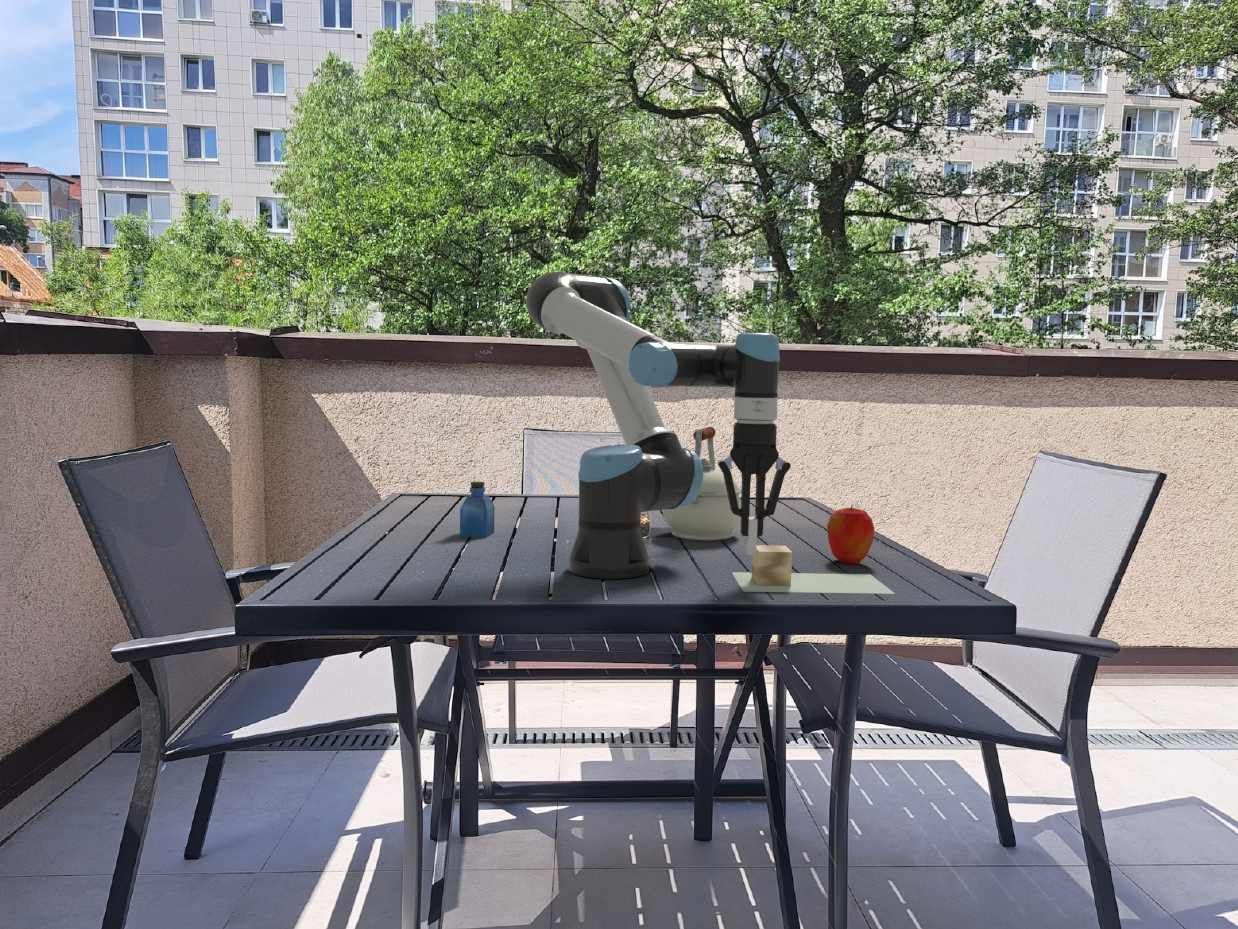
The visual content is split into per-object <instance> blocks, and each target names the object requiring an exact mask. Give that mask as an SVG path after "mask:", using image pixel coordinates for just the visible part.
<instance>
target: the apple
mask: <svg viewBox="0 0 1238 929" xmlns="http://www.w3.org/2000/svg"><path fill="white" fill-rule="evenodd" d="M826 531H827V532H826V533H827V540H828V544H829V547H830V551H831V553H832V555H833V557H834V558H836V559H837V560H838V561H839V563H843V564H849V565H850V564H851V565H852V564H853V565H859V564H860V563H861V562H862V561H863V560H864V559H865V558H866V557H867V556H868V553H869V551H870V549H871V547H872V545H873V543H874V536H875V534H874V533H875V525H874V522H873V518H871V516H870V515H869V513H868V512H867V511H866V510H864V509H859V508H856V507H853V504H852V503H851V507H846V508H841V509H837V510H836V511H835V512H833V513H832V514H831V515H830V517H829V519H828V522H827V524H826Z"/></svg>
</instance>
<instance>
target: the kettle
mask: <svg viewBox="0 0 1238 929" xmlns="http://www.w3.org/2000/svg"><path fill="white" fill-rule="evenodd" d="M716 434H717V433H716V429H715V428H714V427H713V426H707V427H705V428H701V429H697V430H695V431H694V432H693V439H694V441H695V444H694V452H695V453H696V454H697V455H698V457H699V458H700V460H701V463H702V467H703V483H702V484H701V490H700V492H699V494H698V496H697V497H696V499H695V500H694V501H693V502H691V503H690V504H688V505H686V506H683V507H678V508H676V509H664V510H662V515H663V518H664V521H665V523H667V525H668V526H669V527H670V529H672V530H671V534H672V535H673V536H674V537H676V538H679V539H684V540H690V541H702V542H703V541H724V540H729V539H730V538H732V537H733V536H734V533H733V531H734V530H735V529H736V528H737V527H738V526H739V524H741V517H740V516H738V515H735V514H733V513H732V511H731V508H730V504H729V499H728V494H727V490H726V485H725V480H724V476H723V472H722V471H719V470H716V457H715V449H714V448H715V447H714V437H715V435H716ZM706 440H707V442H706V443H707V452H708V459H706V458H701V453H702V442H703V441H706ZM732 479H733V483H734V488H735V493H736V498H737V502H738V507H739V508H740V509H741V496H740V495H741V489H742V488H741V487H740V488H739V486H738V483H737V481H736V480H735V479H734V478H733V477H732Z"/></svg>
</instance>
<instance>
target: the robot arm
mask: <svg viewBox="0 0 1238 929" xmlns="http://www.w3.org/2000/svg"><path fill="white" fill-rule="evenodd" d="M628 293H629V292H627V289H626V288H625V287H624V286H623V285H622V283H621V282H620V281H619V280H616V279H615V278H612V277H607V276H604V275H599V274H598V275H597V274H596V275H587V274H581V273H580V274H579V273H571V272H565V271H550V272H547V273H545V274H542V275H540V276H538V277H537V278H536V279H535V280H534V281H533V282H532V283H531V285H530V286H529V287H528V290H527V294H526V299H525V304H526V305H525V307H526V310H527V313H528V315H529V317H530V319H531V320H532V321H533V322H534V323H535V324H536V325H537V326H539V327H540V328H542V329H544V330H546V331H548V332H550V333H551V334H554V335H561V334H564V335H566V336H567V337H569V338H571V339H572V340H574V341H575V342H576V345H577V346H578V347H580V348H582V349H584V350H587V353H588V355H589V358H590V361H591V363H592V365H593V367H594V370H595V372H596V375H597V378H598V379H599V382H600V385H601V387H602V390H603V392H604V395H605V397H606V399H607V401H608V404H609V407H610V409H611V412H612V414H613V418H614V419H615V421H616V424H617V426H618V429H619V431H620V434H621V437H622V438H623V441H624V443H625V444H614V445H603V446H597V447H594V448H590V449H587V450H585V451H584V452H583V453H582V454H581V457H580V459H579V470H578V474H577V476H578V492H579V493H578V494H579V495H578V530H577V533H576V536H575V539H574V543H573V545H572V548H571V552H570V555H569V557H568V558H569V559H568V572H570V573H571V574H573V575H576V576H581V577H587V578H592V579H604V580H605V579H607V580H608V579H609V580H610V579H611V580H613V579H615V580H616V579H617V580H619V579H630V578H637V577H641V576H644V575H647V574H648V573H649V572H650V571H649V570H650V558H649V554H648V552H647V548H646V545H645V543H644V542H645V541H644V538H643V535H642V530H641V524H642V523H641V520H642V518H641V517H642V513H644V512H645V513H646V512H652V511H663V510H664V509H676V508H678V507H683V506H686V505H688V504H690V503H691V502H693V501H694V500H695V499H696V497H697V496H698V494H699V492H700V490H701V484H702V483H703V467H702V463H701V460H702V459H701V457H700V458H699V457H698V455H697V454H696V453H695V450H690V448H686V447H682V444H681V441H680V440H679V437H678V435H677V433H676V432H675V431H671V430H668V429H667V428H666V427H665V425H664V421H663V419H662V417H661V415H660V412H659V410H658V408H657V406H656V403H655V401H654V399H653V396H652V394H651V391H650V389H649V387H651V388H663V387H665V388H666V387H674V388H675V387H677V388H678V387H680V388H681V387H697V388H704V387H705V388H716V387H717V388H734V402H733V403H734V405H733V408H734V409H733V419H734V420H736V422H735V423H734V424H733V432H732V433H733V437H732V438H733V439H732V448H731V450H730V451H729V455H728V456H726V457H724V459H720V460H719V459H718V461H717V466H718V467H719V469H720V470H721V471H720V472H722V473H723V476H724V480H725V485H726V490H727V494H728V499H729V504H730V508H731V511H732V513H733V514H735V515H738V516H740V517H741V521H740V534H741V536H742V537H745V553H746V555H747V556H749V557H750V556H751V557H752V556H756V551H757V545H758V544H757V542H758V537H763V534H764V519H765V518H766V517H769V516H774V514H775V512H776V508H777V504H778V500H779V497H780V493H781V490H782V486H783V483H784V479H785V476H786V475H787V473H788V472H789V470H790V469H791V466H792V465H791V463H790V462H789V461H787V460H784V459H783V458H781V457H780V455H779V451H778V449H777V432H778V431H777V429H778V428H777V425H776V423H774V421H777V419H778V387H779V386H778V384H779V373H780V372H779V370H780V361H781V357H780V340H779V337H778V336H777V335H776V334H774V333H766V332H745V333H739V334H737V336H736V340H735V344H734V345H723V344H722V345H720V344H719V345H713V344H712V345H711V344H710V345H709V344H689V343H674V342H670V341H667V340H665V339H663V338H661V337H659V336H656V335H655V334H654V333H652V332H649V331H647V330H645V329H643V328H641V327H639V326H637V325H635V324H633V323H631V322H629V320H630V316H631V311H630V309H629V308H631V306H632V305H631V304H632V303H631V299H630V296H629V294H628ZM732 463H733V464H734V465H735V466H736V467H737V469H738V470H739V472H740V473H741V488H740V489H741V493H740V500H741V509H740V508H739V507H738V502H737V498H736V493H735V488H734V483H733V479H734V478H733V474H732V471H731V470H732V468H733V464H732ZM774 465H775V469H776V471H775V474H774V478H773V481H772V484H771V488H770V491H769V495H768V499H767V502H766V504H765V498H766V496H765V495H766V479H767V473H768V472H769V471H770V469H771V468H772V467H773V466H774ZM752 475H755V482H756V483H755V503H754V504H755V507H754V509H755V510H754V514H755V516H750V510H751V509H750V508H751V481H752ZM732 478H733V479H732ZM765 505H766V506H765Z"/></svg>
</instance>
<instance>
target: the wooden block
mask: <svg viewBox="0 0 1238 929" xmlns="http://www.w3.org/2000/svg"><path fill="white" fill-rule="evenodd" d="M751 559H752V560H751V573H752V579H753V580H754V582H755V583H756V585H770V586H791V573H792V567H793V551H792V550H791V549H790V548H788V547H787V545H770V544H769V545H765V544H764V545H763V544H761V545H760V544H757V551H756V556H751Z"/></svg>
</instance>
